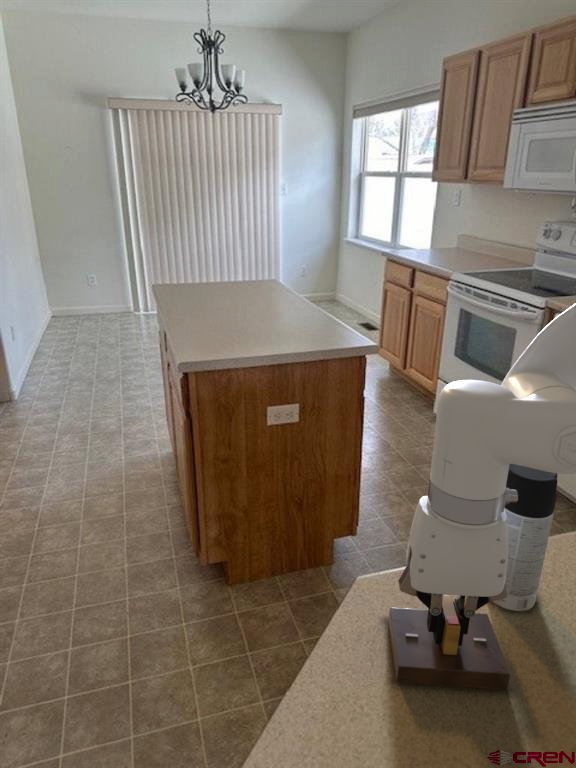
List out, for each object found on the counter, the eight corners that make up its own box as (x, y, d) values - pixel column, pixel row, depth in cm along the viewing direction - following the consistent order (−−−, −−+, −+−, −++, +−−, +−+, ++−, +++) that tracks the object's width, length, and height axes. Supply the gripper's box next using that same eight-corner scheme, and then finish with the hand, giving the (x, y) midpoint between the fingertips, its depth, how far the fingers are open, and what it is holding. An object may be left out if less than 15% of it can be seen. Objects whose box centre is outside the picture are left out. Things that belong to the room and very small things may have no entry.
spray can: (535, 590, 74) (560, 461, 68) (534, 623, 69) (562, 486, 62) (485, 576, 77) (505, 451, 70) (480, 607, 71) (501, 473, 65)
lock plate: (484, 632, 67) (487, 612, 66) (506, 695, 58) (510, 673, 57) (387, 626, 68) (389, 606, 67) (396, 687, 59) (398, 665, 58)
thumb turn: (435, 621, 65) (438, 592, 63) (447, 622, 64) (451, 593, 63) (443, 654, 60) (447, 624, 58) (456, 655, 60) (461, 625, 58)
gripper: (529, 483, 59) (505, 616, 65) (386, 476, 60) (375, 608, 66) (555, 522, 52) (525, 667, 58) (393, 513, 53) (380, 656, 59)
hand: (445, 634), depth 62 cm, fingers closed, pressing on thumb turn
